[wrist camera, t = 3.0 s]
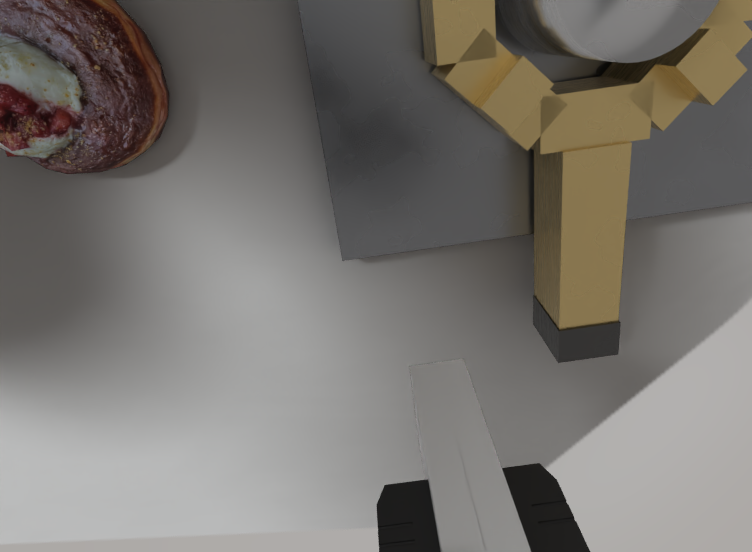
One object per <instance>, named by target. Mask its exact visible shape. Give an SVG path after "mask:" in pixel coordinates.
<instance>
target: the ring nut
mask: <svg viewBox="0 0 752 552" xmlns="http://www.w3.org/2000/svg"><path fill="white" fill-rule="evenodd" d="M420 9H421V20H422V32H423V44H424V56H425V61H426V62H429V63H432V64H434V65H437V66H436V67H435V69H434V70H433V71H432V73H431V74H433V75H434V76H435V77H436V78H437V79H438V80H440V81H441V82H442V83H443V84H444V85H446V86H447V87H448V88H449V89H450V90H451V91H453V92H454V93H455V94H456V95H457V96H458V97H460V98H461V99H462V100H463V101H464V102H466V103H467V104H468V105H469V106H470V107H471V108H473V109H474V110H475V111H476V112H477V113H478V114H480V115H481V116H482V117H483V118H484V119H485V120H487V121H488V122H489V123H490V124H491V125H493V126H494V127H495V128H496V129H497V130H498V131H500V132H501V133H502V134H503V135H504V136H506V137H507V138H509V139H510V140H512V141H513V142H515V143H516V144H518V145H519V146H521V147H523V148H524V149H526V150H527V151H528V150H529V149H530V148H531V149H533V150H534V295H533V324H534V326H535V327H536V329H537V331H538V332H539V334H540V335H541V337H542V338H543V340H544V341H545V343H546V345H547V346H548V348H549V349H550V351H551V352H552V354H553V355H554V357H555V358H556V360H557V362H558V363H560V362H568V361H575V360H582V359H589V358H596V357H603V356H610V355H617V354H618V348H619V336H620V321H619V320H618V318H619V305H620V292H621V279H622V266H623V253H624V239H625V226H626V213H627V200H628V187H629V174H630V161H631V148H632V143H631V142H630V141H637V140H644V139H650V130H651V128H654V129H658V130H661V131H664V130H665V129H666V128H667V127H668V126H669V125H670V123H671V122H672V121H673V120H674V119H675V118H676V117H677V116H678V115H679V114H680V113H681V112H682V111H683V110H684V109H685V108H686V107H687V106H688V105H689V103H690V102H691V101H693V102H698V103H703V104H708V105H712V106H713V105H714V104H715V103H716V102H717V101H718V100H719V99H720V98H721V97H722V96H723V95H724V94H725V93H726V92H727V91H728V90H729V89H730V88H731V87H732V86H733V85H734V83H735V82H736V81H737V80H738V79H739V78H740V77H741V76H742V75H743V74H744V73H745V72H746V71H747V69H746V67H745V66H744V65H743V64H742V63H741V62H740V61H739V60H738V58H737V57H736V56H735V55H736V54H737V53H738V52H739V51H740V50H741V49H742V48H743V46H744V45H745V44H746V43H747V42H748V41H749V40H750V39H751V38H752V31H751V30H750V29H749V28H748V26H747V25H746V24H745V23H744V22H743V21H749V20H752V0H719V2H718V4H717V5H716V7H715V8H714V10H713V11H712V13H711V14H710V16H709V17H708V18H707V19H706V21H705V22H704V23H703V24H702V26H701V27H700V28H699V29H698V30H697V31H696V32H695V33H694V34H693V35H692V36H690V37H689V38H688V39H687V40H686V41H684V42H683V43H682V44H680V45H679V46H677V47H676V48H674V49H673V50H671V51H669V52H667V53H665V54H663V55H661V56H659V57H656V58H653V59H650V60H646V61H641V62H634V63H619V62H613V63H612V64H611V65H610V66H609V67H608V69H607V70H606V71H605V72H604V73H603V74H602V75H601V76H599V77H592V78H585V79H578V80H571V81H564V82H557V83H552V82H551V81H550V80H549V79H548V78H547V77H546V76H545V75H544V74H542V73H541V72H540V71H539V70H538V69H537V68H536V67H535V66H534V65H533V64H532V63H531V62H530V61H528V60H527V59H526V58H525V57H524V56H522V55H515V54H512V53H510V52H509V51H508V50H507V49H506V48H505V47H504V46H503V45H502V44H501V43H500V42H498V41H497V40H496V26H495V0H420Z"/></svg>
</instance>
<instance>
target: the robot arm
mask: <svg viewBox="0 0 752 552" xmlns="http://www.w3.org/2000/svg"><path fill="white" fill-rule="evenodd" d="M409 368H410V376H411V384H412V392H413V399H414V407H415V415H416V423H417V431H418V439H419V446H420V452H421V458H422V464H423V470H424V476H425V480H420V481H412V482H405V483H397V484H390V485H385V486H384V488H383V491H382V493H381V496H380V498H379V500H378V503H377V519H378V535H379V536H378V537H379V552H590V551H589V548H588V547H587V544H586V542H585V540H584V538H583V536H582V533H581V531H580V529H579V527H578V525H577V523H576V521H575V520H574V516H573V514H572V512H571V510H570V508H569V505H568V504H567V503H566V499H565V497H564V495H563V492H562V490H561V488H560V486H559V484H558V482H557V480H556V479H555V478H554V477H553V476H552V475H551V474H550V473H549V472H548V471H547V470H546V469H545V468H544V467H543V466H542V465H541V464H539V463H537V464H530V465H522V466H515V467H507V468H502V467H501V464H500V461H499V459H498V456H497V453H496V450H495V447H494V444H493V441H492V439H491V436H490V433H489V430H488V427H487V424H486V421H485V419H484V416H483V413H482V410H481V407H480V404H479V401H478V399H477V396H476V393H475V390H474V387H473V384H472V381H471V379H470V376H469V373H468V370H467V367H466V364H465V361H464V359H457V360H449V361H442V362H435V363H427V364H420V365H413V366H409Z"/></svg>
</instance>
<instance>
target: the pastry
mask: <svg viewBox="0 0 752 552" xmlns="http://www.w3.org/2000/svg"><path fill="white" fill-rule="evenodd" d="M168 105H169V92H168V88H167V85H166V81H165V77H164V74H163V70H162V67H161V63H160V61H159V59H158V57H157V55H156V53H155V52H154V50H153V48H152V46H151V44H150V42H149V40H148V38H147V36H146V34H145V32H144V31H143V30H142V29H141V28H140V27H139V26H138V25H137V24H136V22H135V21H134V20H133V19H132V18H131V17H130V16H129V15H128V14H127V13H126V11H125V10H124V9H123V8H122V7H121V6H120V5H119V4H118V3H117V2H116V0H0V148H2V149H4V150H5V151H6V154H7V157H10V156H26V157H28V158H30V159H31V160H33V161H35V162H36V163H38V164H40V165H41V166H43V167H44V168H46V169H50V170H54V171H58V172H62V173H66V174H76V173H93V172H102V171H106V170H109V169H112V168H116V167H119V166H123V165H126V164H128V163H129V162H131V161H132V160H133V159H135V158H136V157H138V156H139V155H141V154H142V153H144V152H145V151H146V150H147V149H148V148H149V147H150V146H151V145H152V144H153V143H154V142H156V141H157V140H158V139H159V138H160V135H161V133H162V130H163V128H164V125H165V122H166V120H167V117H168Z"/></svg>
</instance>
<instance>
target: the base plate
mask: <svg viewBox="0 0 752 552" xmlns="http://www.w3.org/2000/svg"><path fill="white" fill-rule="evenodd" d="M297 1H298V7H299V13H300V19H301V24H302V30H303V36H304V42H305V47H306V53H307V59H308V65H309V70H310V76H311V82H312V88H313V93H314V99H315V105H316V111H317V117H318V122H319V128H320V134H321V140H322V145H323V151H324V157H325V163H326V168H327V174H328V180H329V186H330V191H331V197H332V203H333V209H334V214H335V220H336V226H337V232H338V238H339V243H340V249H341V255H342V261H345V260H352V259H359V258H366V257H373V256H380V255H387V254H394V253H401V252H408V251H415V250H422V249H429V248H436V247H442V246H449V245H456V244H463V243H470V242H477V241H484V240H491V239H498V238H505V237H512V236H519V235H526V234H533V233H534V150H533V149H531V148H530V149H529V150H528V151H527V150H526V149H524V148H523V147H521V146H519V145H518V144H516V143H515V142H513V141H512V140H510V139H509V138H507V137H506V136H504V135H503V134H502V133H501V132H500V131H498V130H497V129H496V128H495V127H494V126H493V125H491V124H490V123H489V122H488V121H487V120H485V119H484V118H483V117H482V116H481V115H480V114H478V113H477V112H476V111H475V110H474V109H473V108H471V107H470V106H469V105H468V104H467V103H466V102H464V101H463V100H462V99H461V98H460V97H458V96H457V95H456V94H455V93H454V92H453V91H451V90H450V89H449V88H448V87H447V86H446V85H444V84H443V83H442V82H441V81H440V80H438V79H437V78H436V77H435V76H434V75H433V74H431V73H432V71H433V70H434V69H435V67H436V66H437V65H434V64H432V63H429V62H426V61H425V56H424V44H423V32H422V20H421V9H420V0H297ZM718 2H719V0H495V26H496V40H497V41H498V42H500V43H501V44H502V45H503V46H504V47H505V48H506V49H507V50H508V51H509V52H510V53H512V54H515V55H522V56H524V57H525V58H526V59H527V60H528V61H530V62H531V63H532V64H533V65H534V66H535V67H536V68H537V69H538V70H539V71H540V72H541V73H542V74H544V75H545V76H546V77H547V78H548V79H549V80H550V81H551V82H552V83H557V82H564V81H571V80H578V79H585V78H592V77H599V76H601V75H602V74H603V73H604V72H605V71H606V70H607V69H608V67H609V66H610V65H611V64H612V63H613V62H619V63H634V62H641V61H646V60H650V59H653V58H656V57H659V56H661V55H663V54H665V53H667V52H669V51H671V50H673V49H674V48H676V47H677V46H679V45H680V44H682V43H683V42H684V41H686V40H687V39H688V38H689V37H690V36H692V35H693V34H694V33H695V32H696V31H697V30H698V29H699V28H700V27H701V26H702V24H703V23H704V22H705V21H706V19H707V18H708V17H709V16H710V14H711V13H712V11H713V10H714V8H715V7H716V5H717V4H718ZM743 22H744V23H745V24H746V25H747V26H748V28H749V29H750V30H751V31H752V20H749V21H743ZM735 56H736V57H737V58H738V60H739V61H740V62H741V63H742V64H743V65H744V66H745V67H746V69H747V71H746V72H745V73H744V74H743V75H742V76H741V77H740V78H739V79H738V80H737V81H736V82H735V83H734V85H733V86H732V87H731V88H730V89H729V90H728V91H727V92H726V93H725V94H724V95H723V96H722V97H721V98H720V99H719V100H718V101H717V102H716V103H715V104H714V105H713V106H712V105H708V104H703V103H698V102H693V101H691V102H690V103H689V105H688V106H687V107H686V108H685V109H684V110H683V111H682V112H681V113H680V114H679V115H678V116H677V117H676V118H675V119H674V120H673V121H672V122H671V123H670V125H669V126H668V127H667V128H666V129H665V130H664V131H661V130H658V129H654V128H651V130H650V139H644V140H637V141H630V142H631V143H632V148H631V161H630V174H629V187H628V200H627V213H626V220H631V219H638V218H645V217H652V216H659V215H666V214H673V213H680V212H687V211H694V210H701V209H708V208H715V207H722V206H729V205H736V204H743V203H750V202H752V38H751V39H750V40H749V41H748V42H747V43H746V44H745V45H744V46H743V48H742V49H741V50H740V51H739V52H738V53H737V54H736V55H735Z"/></svg>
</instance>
